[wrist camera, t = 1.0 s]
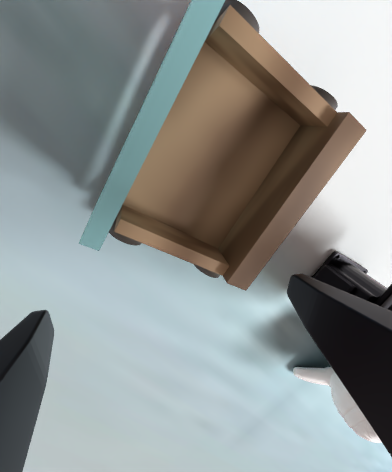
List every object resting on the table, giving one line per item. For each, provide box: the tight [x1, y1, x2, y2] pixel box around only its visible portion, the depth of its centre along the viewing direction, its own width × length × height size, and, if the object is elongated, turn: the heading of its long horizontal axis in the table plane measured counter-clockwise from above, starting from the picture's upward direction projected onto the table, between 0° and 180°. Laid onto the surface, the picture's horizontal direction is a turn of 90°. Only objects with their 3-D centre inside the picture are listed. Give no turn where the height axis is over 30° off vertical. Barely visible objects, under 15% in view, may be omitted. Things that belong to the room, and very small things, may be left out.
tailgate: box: [79, 0, 225, 251], centre depth 13 cm, size 1×14×7 cm, turn 148°
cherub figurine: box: [293, 367, 381, 443], centre depth 33 cm, size 13×12×20 cm
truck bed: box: [109, 0, 366, 290], centre depth 18 cm, size 12×16×6 cm
